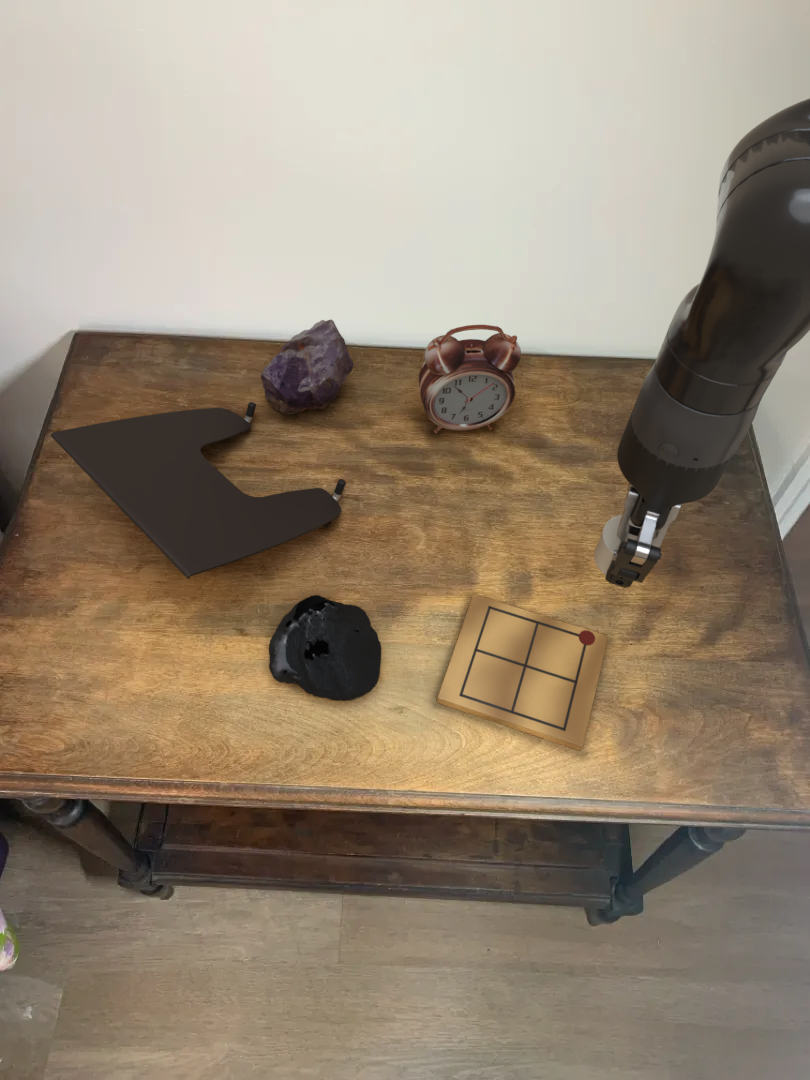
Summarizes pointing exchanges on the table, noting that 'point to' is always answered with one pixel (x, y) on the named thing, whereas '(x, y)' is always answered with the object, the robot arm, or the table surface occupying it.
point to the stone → (608, 543)
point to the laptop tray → (191, 487)
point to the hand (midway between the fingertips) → (623, 555)
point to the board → (525, 671)
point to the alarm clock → (468, 379)
